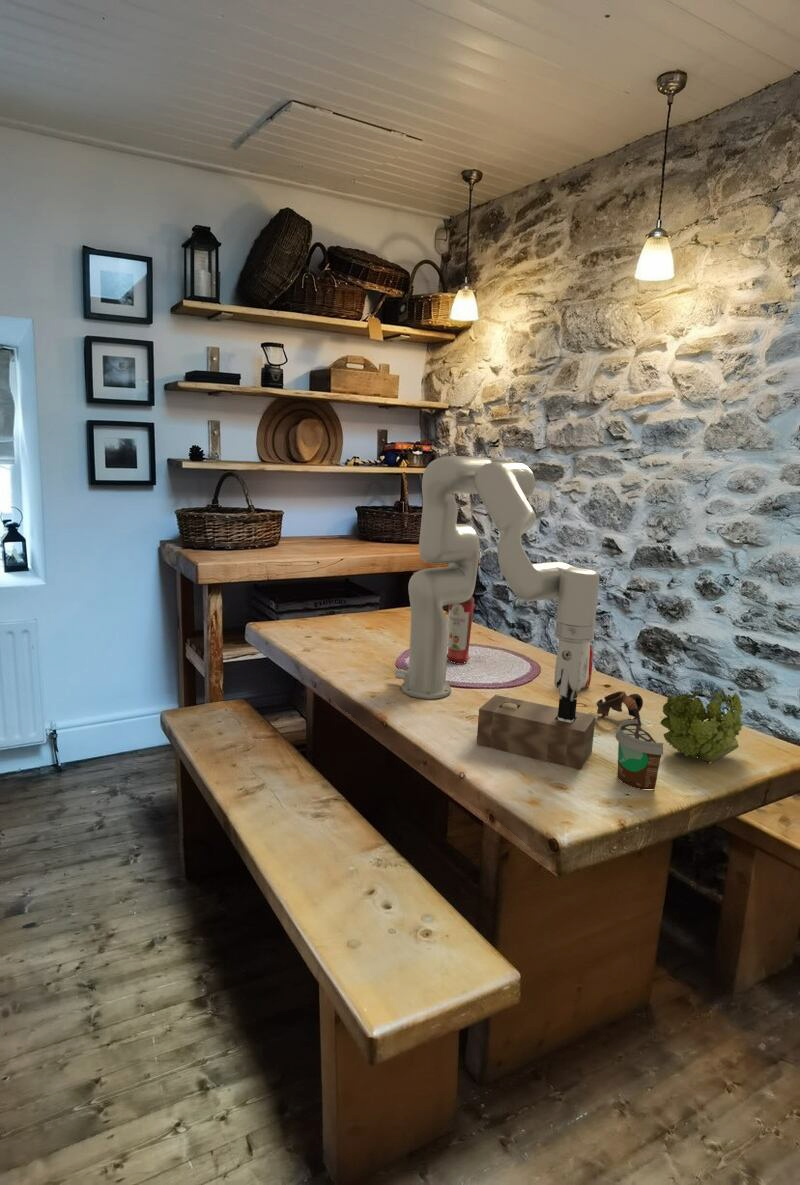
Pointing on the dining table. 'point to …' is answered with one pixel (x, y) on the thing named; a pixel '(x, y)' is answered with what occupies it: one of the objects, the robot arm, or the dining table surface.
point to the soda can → (589, 666)
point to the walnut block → (535, 732)
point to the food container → (637, 756)
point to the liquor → (460, 630)
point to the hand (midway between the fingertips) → (566, 717)
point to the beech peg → (509, 706)
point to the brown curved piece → (615, 702)
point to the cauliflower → (702, 725)
